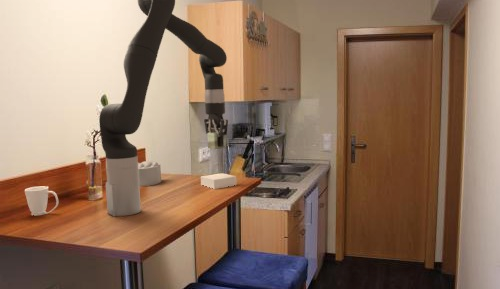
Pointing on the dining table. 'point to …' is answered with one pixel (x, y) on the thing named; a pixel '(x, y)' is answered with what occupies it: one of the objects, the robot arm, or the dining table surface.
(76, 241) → the dining table surface
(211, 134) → the sage block
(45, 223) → the dining table surface
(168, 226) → the dining table surface
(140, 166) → the lumpy-topped squat cylinder
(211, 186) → the base block
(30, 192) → the cup
